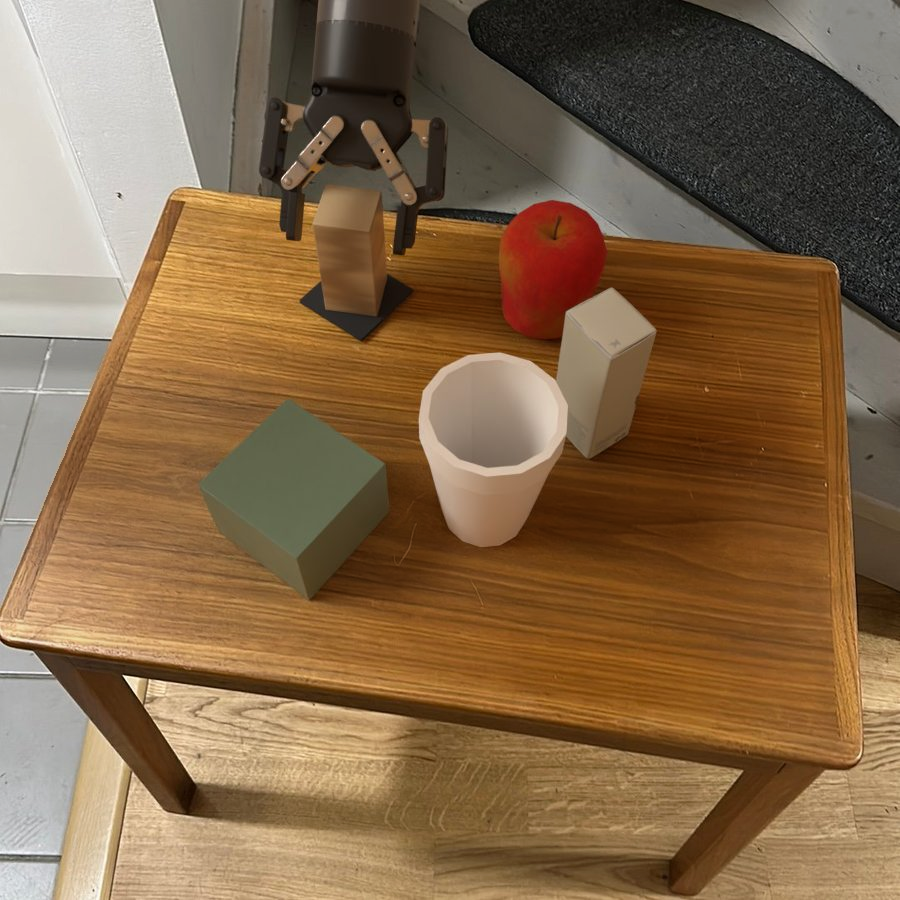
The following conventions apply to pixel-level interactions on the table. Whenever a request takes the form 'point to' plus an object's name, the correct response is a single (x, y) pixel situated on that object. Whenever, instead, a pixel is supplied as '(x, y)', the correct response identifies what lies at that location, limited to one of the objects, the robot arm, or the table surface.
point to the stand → (297, 497)
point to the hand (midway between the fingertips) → (346, 247)
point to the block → (351, 249)
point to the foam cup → (491, 442)
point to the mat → (359, 323)
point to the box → (602, 369)
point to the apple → (548, 266)
